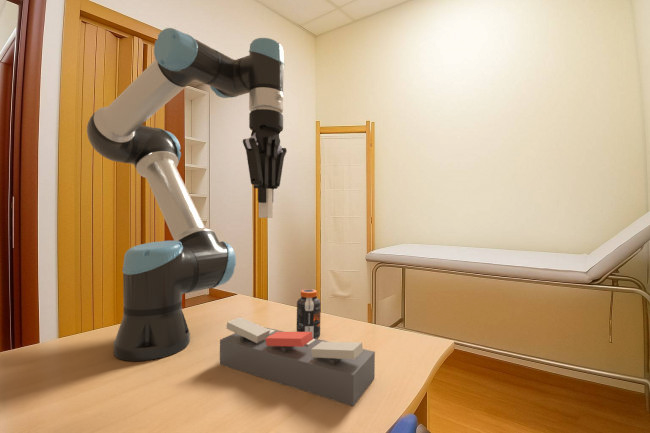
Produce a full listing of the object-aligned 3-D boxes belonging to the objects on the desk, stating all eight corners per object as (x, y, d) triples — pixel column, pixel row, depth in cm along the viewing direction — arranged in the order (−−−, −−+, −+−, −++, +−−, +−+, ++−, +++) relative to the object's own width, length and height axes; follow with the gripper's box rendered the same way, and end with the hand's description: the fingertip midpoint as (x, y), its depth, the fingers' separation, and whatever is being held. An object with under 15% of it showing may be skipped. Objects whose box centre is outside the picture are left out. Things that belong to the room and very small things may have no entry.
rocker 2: (312, 357, 56) (311, 349, 57) (322, 349, 60) (321, 341, 60) (354, 359, 53) (353, 350, 53) (362, 350, 56) (361, 342, 56)
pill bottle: (317, 341, 77) (317, 293, 77) (293, 339, 79) (293, 292, 78) (322, 332, 83) (322, 288, 83) (300, 330, 84) (300, 287, 84)
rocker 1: (226, 328, 66) (227, 322, 66) (239, 323, 69) (240, 316, 69) (256, 343, 62) (257, 336, 62) (269, 336, 66) (270, 329, 65)
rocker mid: (266, 345, 61) (265, 338, 61) (278, 338, 64) (277, 331, 65) (302, 346, 57) (301, 338, 57) (312, 339, 61) (311, 331, 61)
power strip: (219, 364, 65) (219, 335, 65) (253, 346, 74) (253, 320, 74) (353, 406, 51) (353, 369, 51) (374, 378, 60) (374, 346, 60)
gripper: (260, 101, 65) (259, 218, 66) (296, 118, 77) (295, 217, 77) (233, 106, 69) (232, 217, 69) (270, 122, 80) (270, 217, 81)
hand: (265, 217), depth 73 cm, fingers closed
